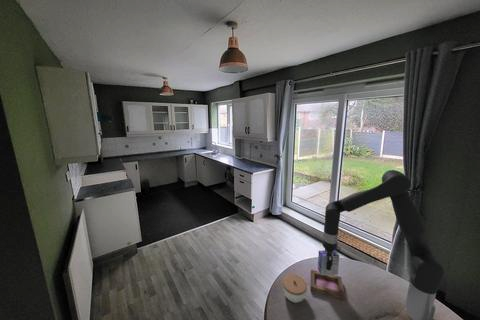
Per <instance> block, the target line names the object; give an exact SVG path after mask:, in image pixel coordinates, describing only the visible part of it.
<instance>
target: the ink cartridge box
mask: <svg viewBox="0 0 480 320" xmlns="http://www.w3.org/2000/svg"><path fill="white" fill-rule="evenodd" d="M325 251H326V249H325V248H324V250H318V261H317V270H318V272H320V274H321V275H335V276H339V268H340V267H339V265H340V254H339V253H338V252H337V250H334V251H333V262H332V266H331V270H327V269H326V266H327V263H326V262H327V259H326V258H327V256H326V253H325Z"/></svg>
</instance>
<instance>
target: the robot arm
mask: <svg viewBox="0 0 480 320" xmlns="http://www.w3.org/2000/svg"><path fill="white" fill-rule="evenodd" d="M411 186H412V182H411V180H410V179H409V178H408V177H407V176H406V175H405V174H404V173H403V172H401V171H400V170H399V171H398V170H395V169H392V170H391V169H389V170H387V171H385V172H384V174H382V177H381V183H380V184H378V185H376V186H373V187H372V188H369V189H366V190H361V191H357V192H354V193H351V194H350V195H348V196H345V197H343V198H341V199H338V200H335V201H331V202H330V203H328V204H327V205H326V206H325V212H324V224H323V234H322V244H321V245H322V246H323V247H322V248H324V250H325V249H326V251H325V253H326V256H327V258H326V259H327V262H326V263H327V266H326V269H327V270H331V266H332V262H333V251H334V250H335V251H337V249H338V242H339V224H340V219H341V213H343V212H347V213H349V212H353V211H355V210H357V209H359V208H362V207H364V206H366V205H369V204H371V203H374V202H377V201H381V200H385V199H386V198H390V201H391V204H392V208H393V212H394V215H395V218H396V222H397V224H398V227H399V229H400V231H401V233H402V236H403V238H404V240H405V241H406V243H407V246H408V250H409V255H410V260H411V262H412V264H413V266H414V267H415V269H416V271H415V273H413V274H411V276H410V279H409V283H408V289H407V293H406V299H405V304H404V312H405V314H406V315H407V316H408V317H409V318H410V319H411V320H434V316H435V312H436V306H435V301H436V295H437V292H438V291H439V290H440V288H441V287H442V284H443V281H444V280H443V279H444V277H445V269H444V268H443V265H442V264H441V263H440V261H438V260H437V259H436V257H435V256H434V254H433V252H432V251H431V249H430V247H429V245H428V242H427V228H426V225H425V222H424V220H423V216H422V215H421V213H420V210H419V209H418V208H417V206H416V204H415V203H414V201H413V200H412V198H411V196H410V193H409V190H410V189H411Z"/></svg>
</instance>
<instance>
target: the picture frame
mask: <svg viewBox="0 0 480 320" xmlns="http://www.w3.org/2000/svg"><path fill="white" fill-rule="evenodd" d="M309 288H310V290H309V291H310V292H312V293H314V294H318V295H321V296H324V297H325V296H326V297H329V298H333V299H335V300H339V301H343V302H345V290H344V284H343V279H342V276H340V275H321V274H320V272H319V270H318V271H317V270H313V269H311V270H310V287H309Z"/></svg>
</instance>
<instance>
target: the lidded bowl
mask: <svg viewBox="0 0 480 320" xmlns="http://www.w3.org/2000/svg"><path fill="white" fill-rule="evenodd" d="M307 286H308V285H307V282H306V281H305V279H304V278H303V277H302V276H300V275H298V274H293V273H290V274H286V275H285V276H284V277H283V279H282V289H283V290H282V292H283V293H284V295H285V298H287V300H289V301H290V302H291V303H293V302H294V303H293V304H298V303H301V302H302V301H304V300H305V297H306V294H307V288H308V287H307Z"/></svg>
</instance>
